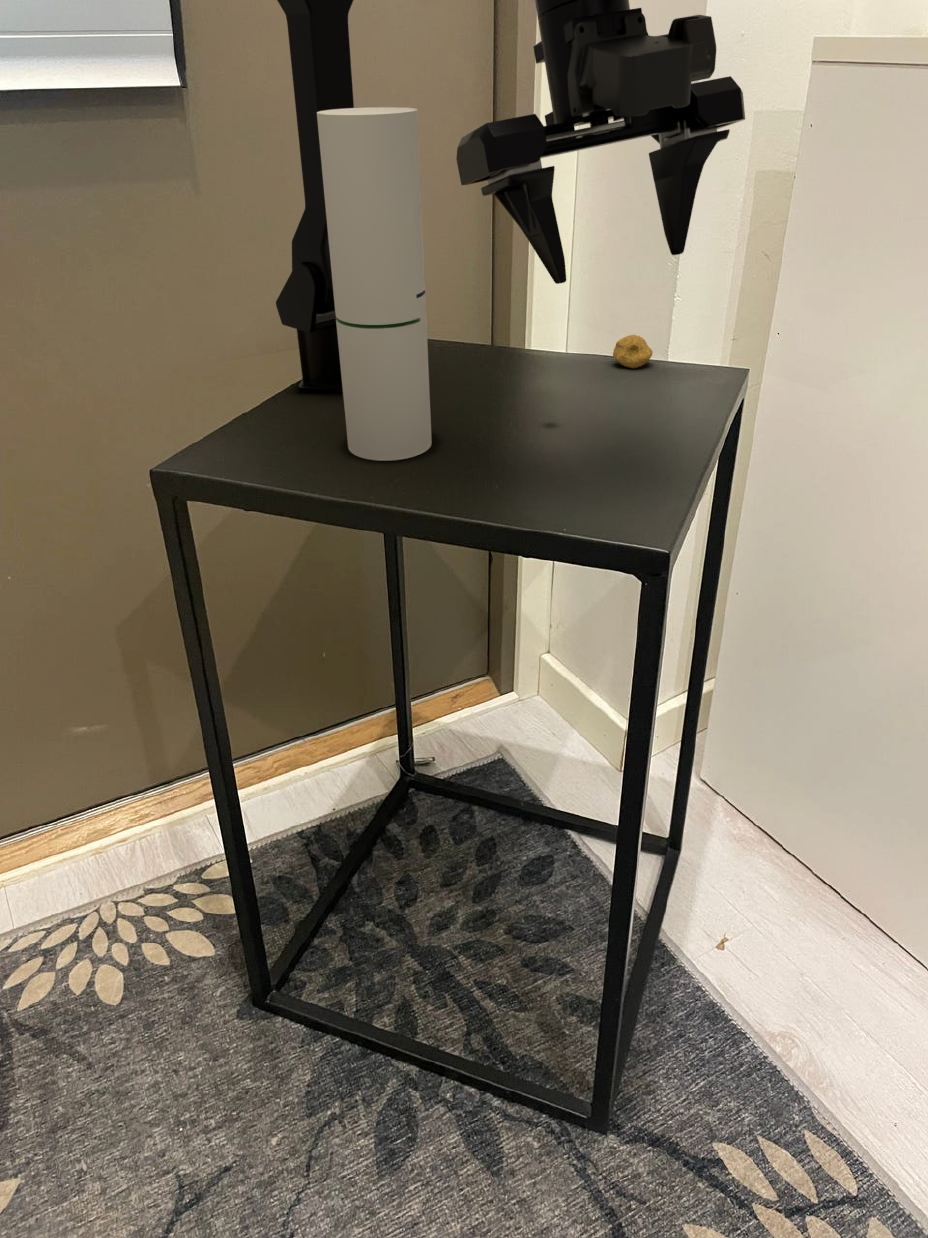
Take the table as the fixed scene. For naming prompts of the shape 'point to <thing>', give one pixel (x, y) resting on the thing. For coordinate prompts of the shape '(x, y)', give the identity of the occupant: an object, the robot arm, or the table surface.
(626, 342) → the tan lumpy rounded lump
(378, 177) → the cylindrical container
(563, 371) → the table surface
